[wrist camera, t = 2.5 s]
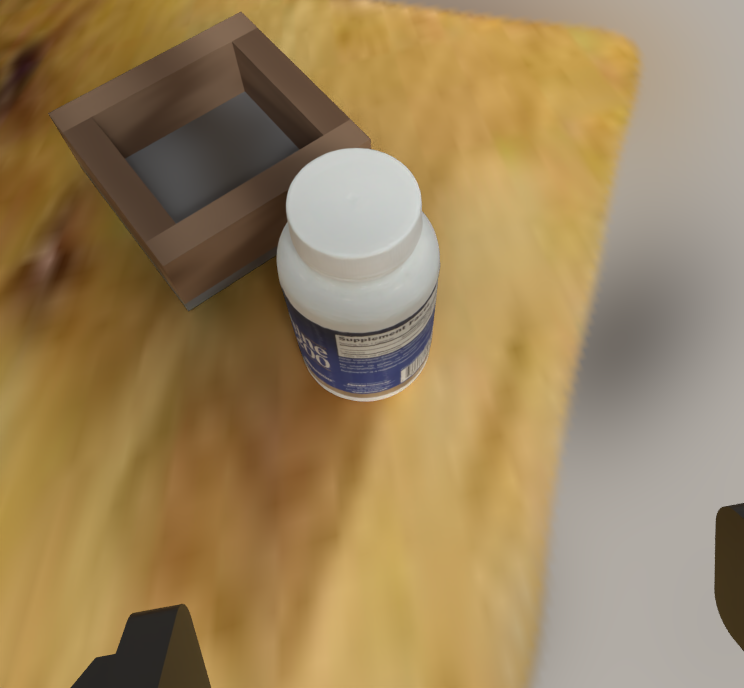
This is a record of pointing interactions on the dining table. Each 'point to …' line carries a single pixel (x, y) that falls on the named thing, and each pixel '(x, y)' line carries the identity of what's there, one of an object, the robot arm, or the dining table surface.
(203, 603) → the dining table surface
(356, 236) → the pill bottle
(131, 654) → the robot arm
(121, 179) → the square tray
